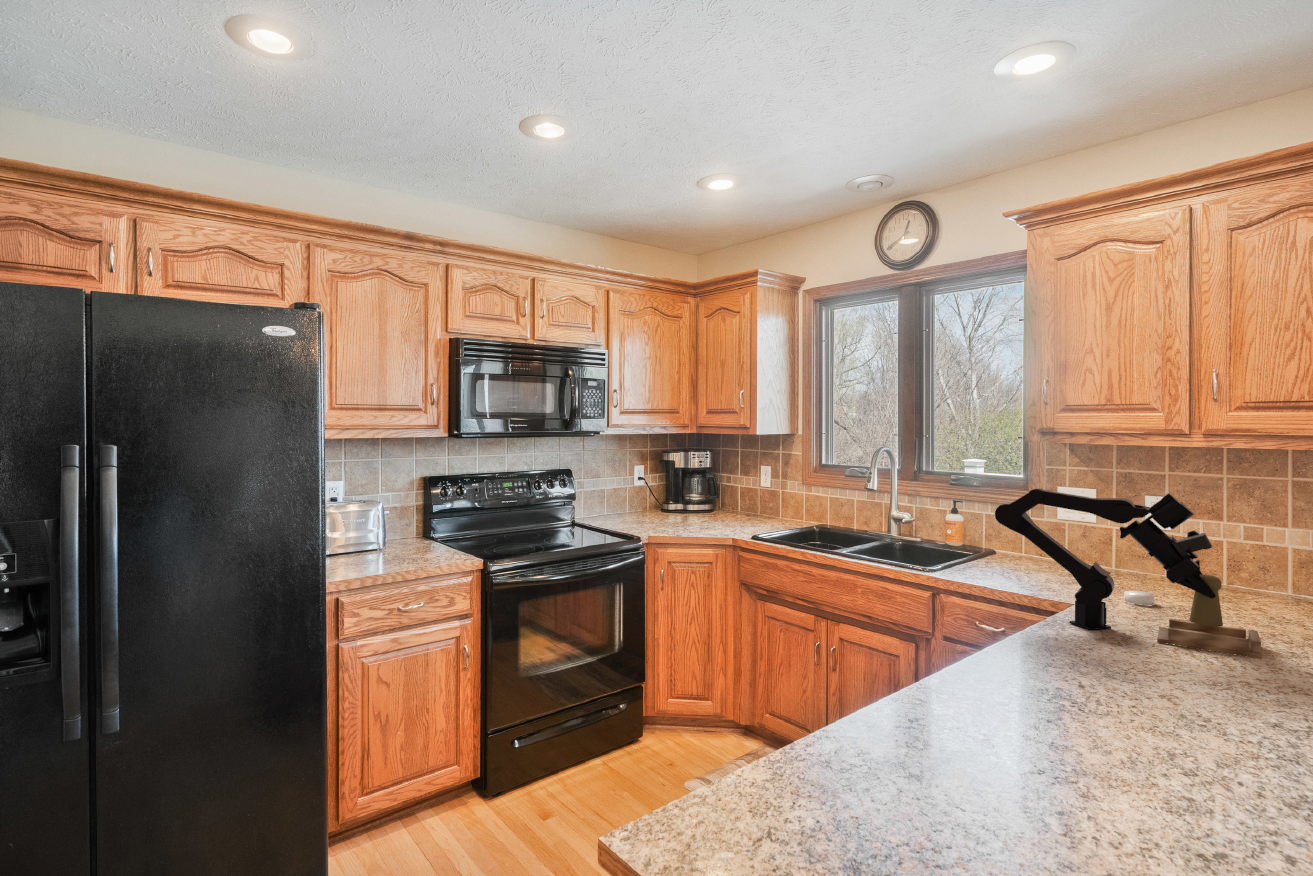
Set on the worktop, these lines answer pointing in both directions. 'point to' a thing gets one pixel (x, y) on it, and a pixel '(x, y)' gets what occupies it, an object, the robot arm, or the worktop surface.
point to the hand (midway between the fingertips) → (1214, 595)
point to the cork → (1207, 605)
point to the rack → (1211, 638)
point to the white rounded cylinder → (1139, 597)
